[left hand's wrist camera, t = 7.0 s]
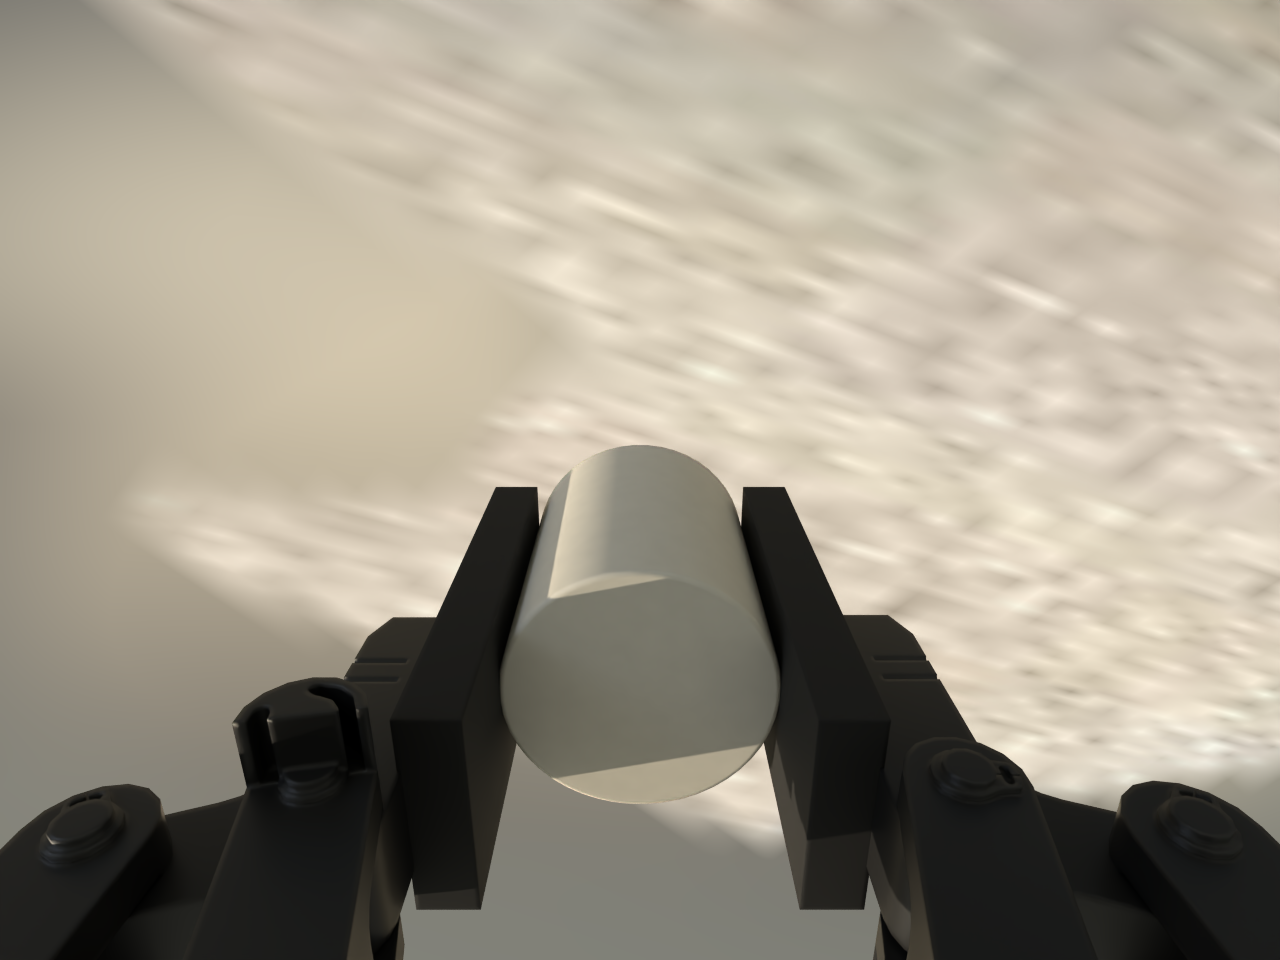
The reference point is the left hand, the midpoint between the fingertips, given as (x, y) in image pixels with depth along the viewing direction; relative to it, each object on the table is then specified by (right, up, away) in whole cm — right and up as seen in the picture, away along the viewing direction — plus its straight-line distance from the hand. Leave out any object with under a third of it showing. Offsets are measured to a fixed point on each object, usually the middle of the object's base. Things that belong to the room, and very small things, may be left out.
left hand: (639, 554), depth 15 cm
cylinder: (0, 0, 0) cm, 0 cm away
